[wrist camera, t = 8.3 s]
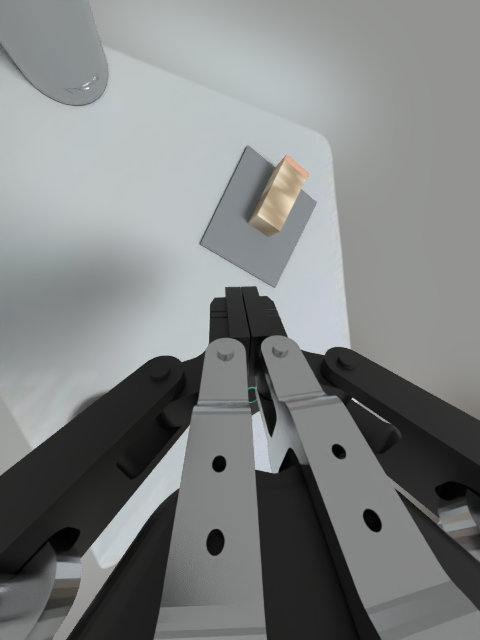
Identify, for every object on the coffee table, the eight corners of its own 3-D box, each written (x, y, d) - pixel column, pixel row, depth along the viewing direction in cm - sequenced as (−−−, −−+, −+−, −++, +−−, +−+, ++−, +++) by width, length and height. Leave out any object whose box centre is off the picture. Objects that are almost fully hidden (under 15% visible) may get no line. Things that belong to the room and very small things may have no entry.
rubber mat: (200, 244, 31) (200, 243, 30) (246, 147, 30) (248, 145, 30) (273, 287, 35) (275, 287, 35) (315, 203, 35) (316, 202, 35)
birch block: (257, 214, 28) (286, 153, 28) (247, 223, 32) (273, 169, 32) (280, 231, 29) (309, 173, 29) (268, 237, 33) (293, 186, 33)
